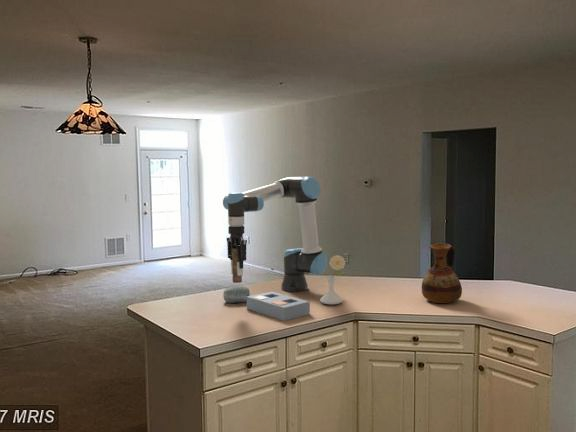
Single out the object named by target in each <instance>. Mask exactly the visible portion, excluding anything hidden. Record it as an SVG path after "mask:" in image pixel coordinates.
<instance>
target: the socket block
mask: <svg viewBox="0 0 576 432" xmlns="http://www.w3.org/2000/svg"><path fill="white" fill-rule="evenodd" d="M246 309H247V310H249V311H253V312H256V313H259V314H261V315H265V316H268V317H271V318H274V319H277V320H280V321H283V322H284V321H289V320H293V319H297V318H299V317H304V316H308V315H310V314H311V313H310V311H311V309H310V301H308V300H305V299H301V298H298V297H295V296H294V297H293V296H290V295H286V294H283V293H279V292H276V291H267V292H262V293H257V294H252V295H250V296H247V301H246Z"/></svg>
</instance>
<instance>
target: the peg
mask: <svg viewBox="0 0 576 432" xmlns="http://www.w3.org/2000/svg"><path fill="white" fill-rule="evenodd" d="M237 261H238V254H237V248H232V274H231V275H232V283H233V284H237V283H238V284H239V283H243V275H239V276H238V274H237Z"/></svg>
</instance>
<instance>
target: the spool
mask: <svg viewBox="0 0 576 432" xmlns="http://www.w3.org/2000/svg"><path fill="white" fill-rule="evenodd" d="M250 293H251V292H250V289H249V288H248V287H247V286H243V285H234V286H233V285H232V286H229V287H226V288H225V289H224V290H223V294H222V295H223V297H222V298H223V300H224V302H226V303H227V304H231V303H232V304H233V303H245V302H247V296H251V294H250Z"/></svg>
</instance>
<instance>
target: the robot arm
mask: <svg viewBox="0 0 576 432" xmlns="http://www.w3.org/2000/svg"><path fill="white" fill-rule="evenodd" d="M320 193H321V184H320V182H319V180H318V179H317V178H315V177H314V176H308V175H307V176H306V175H304V176H301V175H300V176H296V175H295V176H288V177H285V178H281V179H279V180H275V181H273V182H272V183H271V184H269V185H263V186H260V187H257V188H254V189H251V190H247V191H244V192H229V193H228V195H225V196H224V197H223V199H222V205H223V208H224V209H225V210H227V216H228V217H227V218H228V219H227V220H228V221H227V222H228V234H229V235H230V237H226V242H227V258H228V259H229V261H230V268H231V270H230V272H231V274H230V275H233V274H232V248H237V254H238V261H237V274H238V276H239V275H242V276H244V262H245V261H247V243H248V240H247V239H244V236H243V235H244V233H245V226H244V225H245V213H248V212H249V213H250V212H252V213H253V212H258V211H259V212H261V211H262V210H263V209H264V205H265V202H266V201H270V200H272V199H282V198H290V199H291V198H293V199H294V201H295V203H296V205H298V209H299V210H298V212H299V219H300V228H301V236H302V238H301V240H302V247H297V248H289V249H286V250H284V252H283V253H284V254H283V268H284V269H283V271H284V274H283V279H282V283H281V285H280V286H281V287H280V288H281V290H282V291H286V292H304V291H306V290H308V287H309V286H308V282H307V278H306V275H305V274H311V275H321V274H323V272H324V271H326V268H327V266H328V256H327V255H326V254H325V253H323V249H322V247H320V245H319V235H318V233H319V232H318V225H317V217H316V216H317V214H316V203H317V201H318V197H320Z"/></svg>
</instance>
